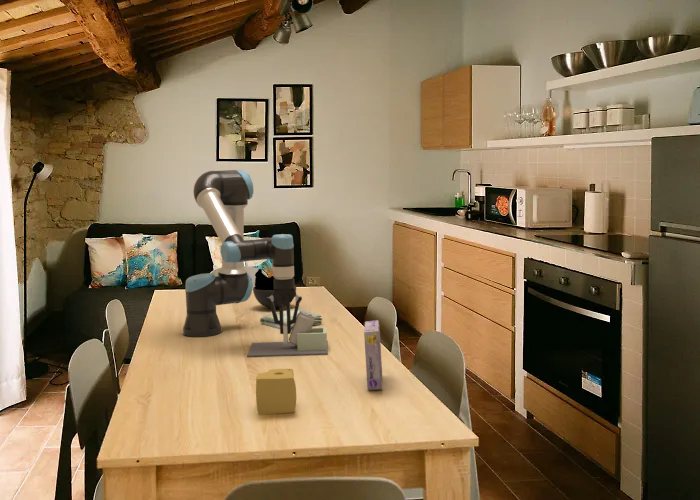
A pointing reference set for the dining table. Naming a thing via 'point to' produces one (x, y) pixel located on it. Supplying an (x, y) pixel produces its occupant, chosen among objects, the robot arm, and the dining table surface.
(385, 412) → the dining table surface
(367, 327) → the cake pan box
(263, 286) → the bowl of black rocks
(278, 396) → the cheese
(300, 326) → the beverage can
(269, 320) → the towel
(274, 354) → the mount
